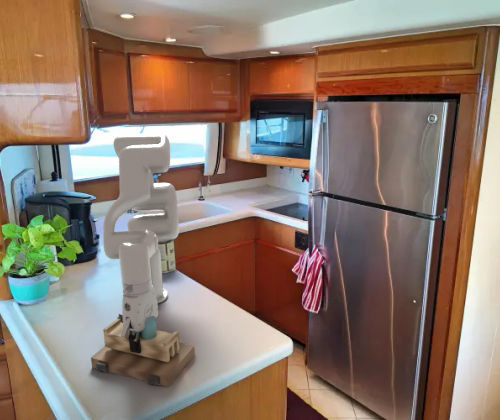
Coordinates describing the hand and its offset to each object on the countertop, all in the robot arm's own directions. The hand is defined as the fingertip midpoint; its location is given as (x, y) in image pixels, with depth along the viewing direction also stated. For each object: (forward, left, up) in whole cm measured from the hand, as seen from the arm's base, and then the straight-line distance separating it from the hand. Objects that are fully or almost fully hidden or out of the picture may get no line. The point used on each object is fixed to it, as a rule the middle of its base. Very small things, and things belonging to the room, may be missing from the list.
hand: (143, 344), depth 112 cm
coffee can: (-30, +58, -5) cm, 65 cm away
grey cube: (-2, 0, +3) cm, 4 cm away
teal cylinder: (+2, 0, +3) cm, 4 cm away
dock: (0, 0, -5) cm, 5 cm away
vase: (-16, +10, -5) cm, 19 cm away
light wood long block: (0, 0, -1) cm, 1 cm away
